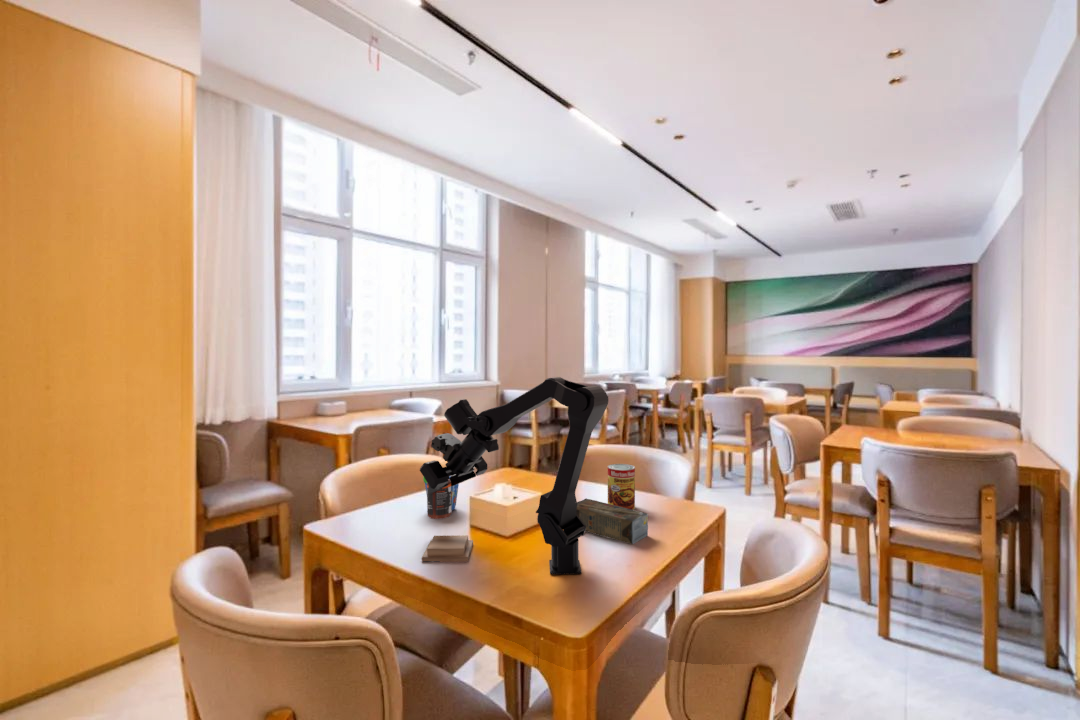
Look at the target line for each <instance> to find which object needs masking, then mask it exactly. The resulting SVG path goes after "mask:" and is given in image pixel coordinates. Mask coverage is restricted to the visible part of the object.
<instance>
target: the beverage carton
mask: <svg viewBox="0 0 1080 720" xmlns="http://www.w3.org/2000/svg"><path fill="white" fill-rule="evenodd" d="M576 514H577V515H578V517H579V518H580V519H581V521H582V522H583V523H584V524H585V526H586V530H585V532H588V533H589V534H590V533H591V534H593V535H597V536H601V537H604V538H609V539H612V540H616V541H620V542H623V543H627V544H630V545H633V544H636V543H637V542H639V541H641V540H643V539H644V538H646V537H648V533H649V524H648V521H649V520H648V519H649V515H648V513H646V512H642V511H639V510H635V509H634V510H631V509H627V508H623V507H619V506H615V505H611V504H608V502H603V501H598V500H594V499H589V498H584V499H582V500H579V501H577V511H576Z"/></svg>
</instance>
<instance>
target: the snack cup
mask: <svg viewBox="0 0 1080 720" xmlns="http://www.w3.org/2000/svg"><path fill="white" fill-rule="evenodd" d="M450 477H451V476H450ZM450 477H449V478H450ZM422 480H423V483H424V485H425V486H424V487H425V491H426V495H427V481H426V479H425V478H424V476H423V475H422ZM459 485H460V483H459V484H457V485H455V486H452V487H451V502H452V511H454V510H456V506H457V500H458V499H457V498H458V492H459Z"/></svg>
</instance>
